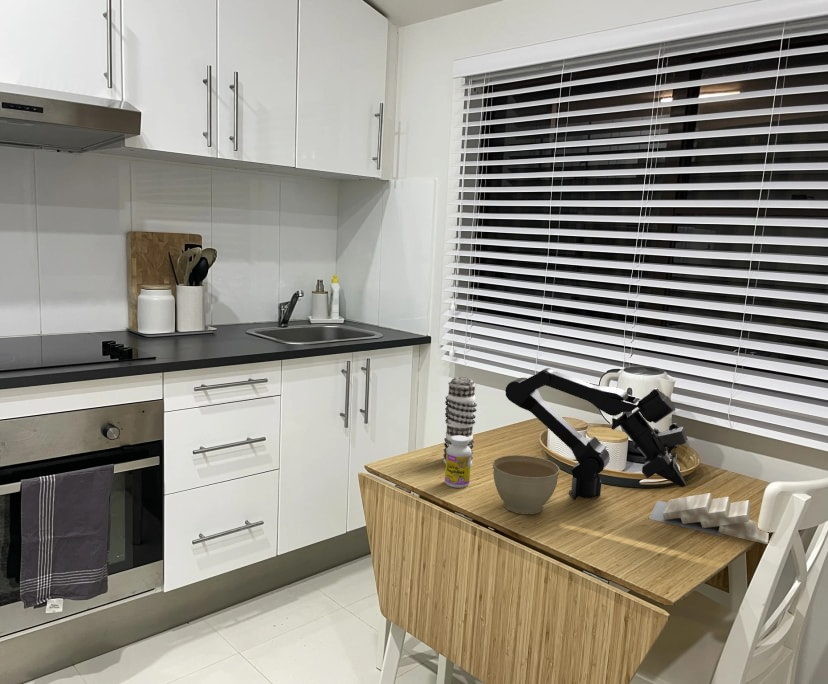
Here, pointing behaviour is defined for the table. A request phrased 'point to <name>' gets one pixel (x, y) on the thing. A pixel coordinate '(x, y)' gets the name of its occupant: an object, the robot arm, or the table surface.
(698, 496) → the domino
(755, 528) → the domino
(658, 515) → the board
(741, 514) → the domino
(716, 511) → the domino
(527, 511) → the planter bowl
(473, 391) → the decorative candle
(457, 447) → the supplement bottle
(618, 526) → the table surface
